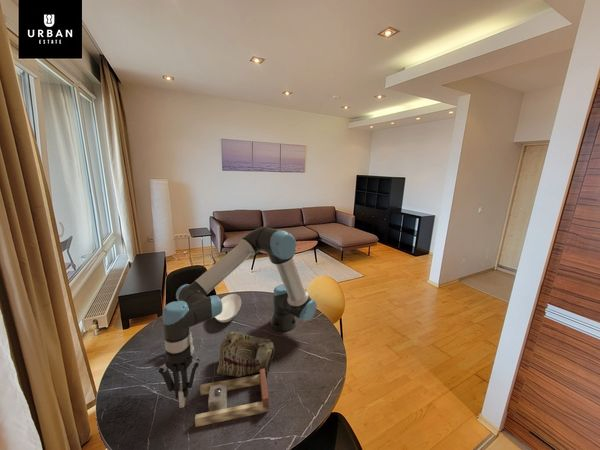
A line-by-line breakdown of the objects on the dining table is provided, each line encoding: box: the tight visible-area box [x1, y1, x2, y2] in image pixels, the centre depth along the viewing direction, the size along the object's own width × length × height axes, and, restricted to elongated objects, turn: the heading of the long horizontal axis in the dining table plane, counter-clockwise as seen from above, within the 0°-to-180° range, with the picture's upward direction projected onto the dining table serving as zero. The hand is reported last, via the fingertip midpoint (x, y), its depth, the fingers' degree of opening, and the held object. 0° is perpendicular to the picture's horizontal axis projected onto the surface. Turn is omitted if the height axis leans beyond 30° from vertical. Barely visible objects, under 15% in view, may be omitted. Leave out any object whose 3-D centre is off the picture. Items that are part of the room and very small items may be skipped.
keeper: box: [207, 383, 228, 412], centre depth 91 cm, size 6×7×6 cm
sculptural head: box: [216, 331, 275, 378], centre depth 108 cm, size 17×21×25 cm
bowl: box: [214, 293, 242, 323], centre depth 149 cm, size 30×15×6 cm, turn 3°
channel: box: [194, 368, 270, 428], centre depth 93 cm, size 25×14×6 cm, turn 104°
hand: (182, 403), depth 88 cm, fingers closed
